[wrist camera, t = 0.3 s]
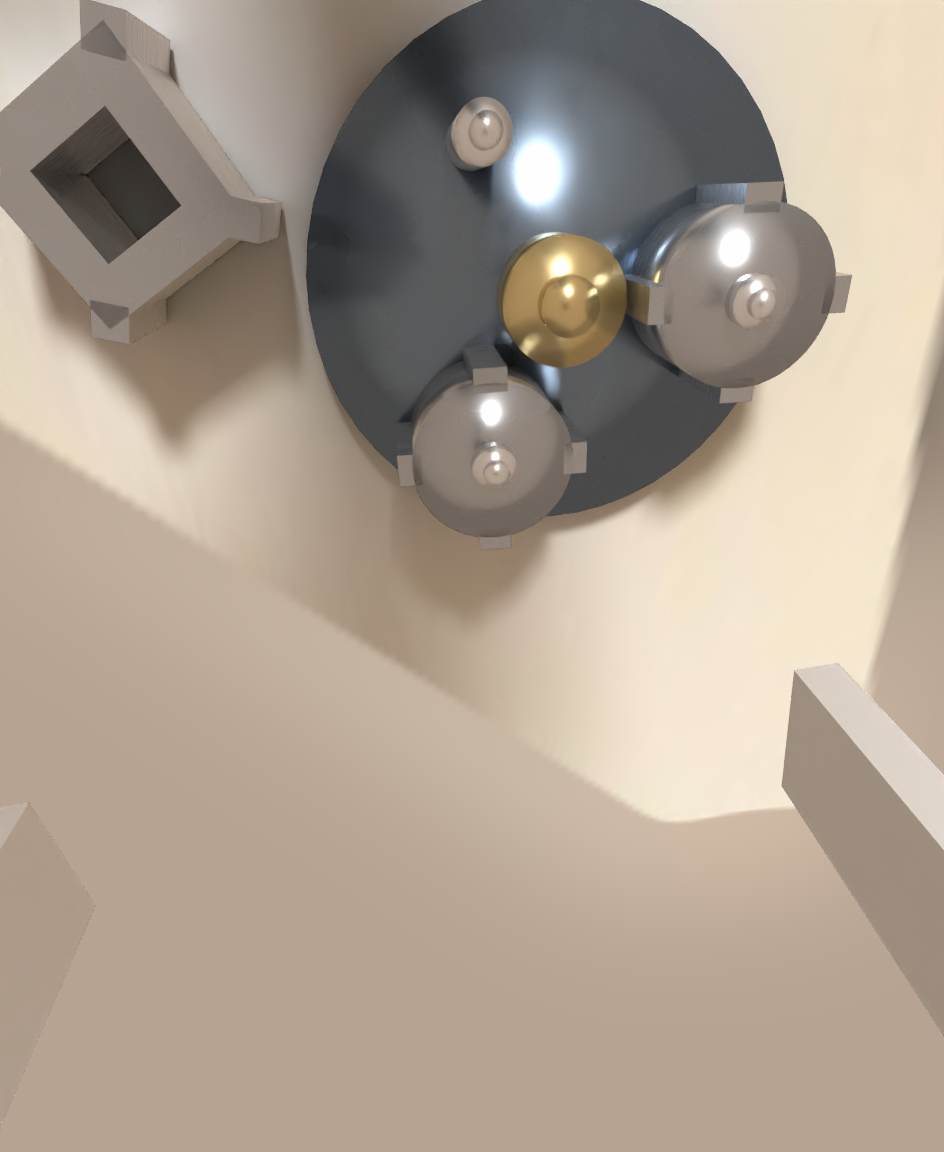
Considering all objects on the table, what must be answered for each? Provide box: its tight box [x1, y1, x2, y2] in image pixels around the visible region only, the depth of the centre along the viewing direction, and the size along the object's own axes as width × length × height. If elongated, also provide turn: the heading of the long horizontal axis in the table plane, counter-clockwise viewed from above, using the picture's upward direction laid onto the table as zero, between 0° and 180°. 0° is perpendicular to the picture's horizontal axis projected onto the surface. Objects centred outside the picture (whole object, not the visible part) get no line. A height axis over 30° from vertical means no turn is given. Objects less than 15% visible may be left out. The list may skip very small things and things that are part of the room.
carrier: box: [306, 0, 852, 550], centre depth 29 cm, size 22×22×8 cm
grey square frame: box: [0, 0, 282, 344], centre depth 27 cm, size 9×9×5 cm
